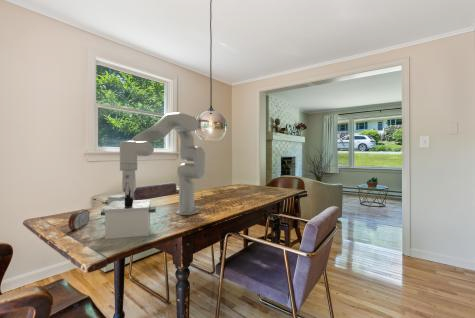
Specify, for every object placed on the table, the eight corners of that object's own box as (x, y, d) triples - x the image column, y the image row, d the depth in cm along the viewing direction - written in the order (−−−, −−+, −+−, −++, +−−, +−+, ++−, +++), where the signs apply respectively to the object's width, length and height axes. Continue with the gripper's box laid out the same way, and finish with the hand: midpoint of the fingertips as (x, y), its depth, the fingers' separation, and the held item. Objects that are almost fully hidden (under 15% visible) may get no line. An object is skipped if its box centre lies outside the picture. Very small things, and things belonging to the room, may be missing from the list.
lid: (150, 201, 131) (150, 196, 131) (148, 209, 113) (148, 203, 113) (112, 203, 125) (112, 198, 125) (104, 212, 107) (104, 206, 107)
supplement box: (118, 219, 139) (118, 197, 139) (107, 218, 141) (107, 196, 140) (126, 216, 146) (126, 195, 146) (116, 215, 148) (115, 194, 147)
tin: (84, 223, 132) (84, 207, 132) (90, 222, 132) (90, 207, 132) (67, 232, 117) (67, 214, 117) (74, 232, 117) (74, 214, 117)
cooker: (155, 223, 132) (155, 201, 131) (155, 234, 115) (155, 209, 114) (106, 227, 125) (106, 204, 124) (97, 239, 108) (97, 212, 107)
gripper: (135, 168, 109) (135, 209, 109) (138, 166, 123) (138, 202, 124) (117, 168, 107) (117, 210, 107) (122, 166, 121) (122, 203, 121)
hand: (128, 205), depth 115 cm, fingers closed
